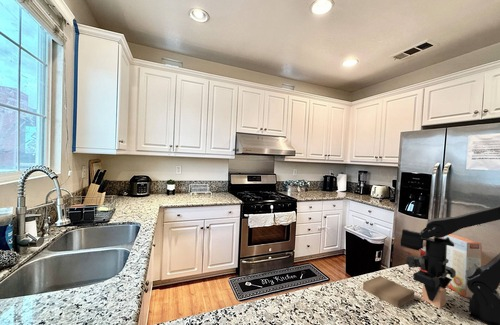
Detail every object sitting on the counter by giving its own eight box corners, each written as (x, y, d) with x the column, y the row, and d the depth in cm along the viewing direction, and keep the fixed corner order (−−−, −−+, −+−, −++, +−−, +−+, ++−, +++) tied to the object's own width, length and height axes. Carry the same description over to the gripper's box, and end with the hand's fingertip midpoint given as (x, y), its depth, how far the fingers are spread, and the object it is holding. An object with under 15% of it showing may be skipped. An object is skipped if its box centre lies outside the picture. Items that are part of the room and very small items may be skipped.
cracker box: (481, 299, 78) (483, 243, 79) (464, 298, 78) (466, 242, 79) (446, 279, 92) (448, 231, 93) (432, 278, 92) (434, 230, 93)
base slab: (414, 299, 77) (414, 291, 77) (397, 309, 70) (397, 300, 71) (379, 283, 87) (380, 275, 87) (362, 290, 81) (363, 282, 81)
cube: (445, 303, 75) (446, 289, 75) (439, 307, 72) (440, 292, 72) (428, 295, 79) (428, 282, 79) (422, 299, 76) (422, 285, 76)
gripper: (420, 243, 87) (419, 281, 87) (397, 250, 78) (395, 292, 78) (456, 253, 78) (455, 296, 77) (435, 262, 68) (433, 311, 68)
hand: (434, 298), depth 75 cm, fingers closed on cube, 5 cm apart
